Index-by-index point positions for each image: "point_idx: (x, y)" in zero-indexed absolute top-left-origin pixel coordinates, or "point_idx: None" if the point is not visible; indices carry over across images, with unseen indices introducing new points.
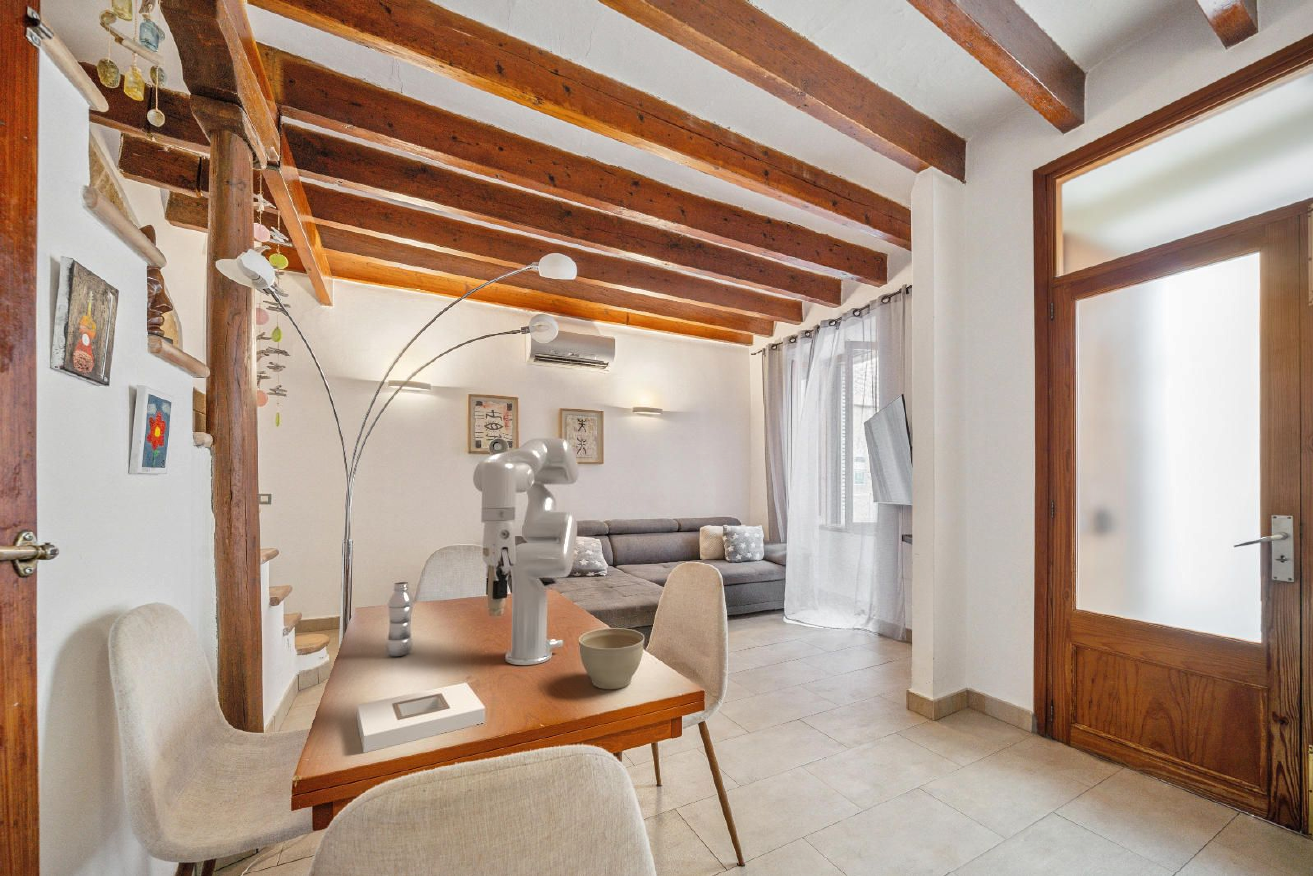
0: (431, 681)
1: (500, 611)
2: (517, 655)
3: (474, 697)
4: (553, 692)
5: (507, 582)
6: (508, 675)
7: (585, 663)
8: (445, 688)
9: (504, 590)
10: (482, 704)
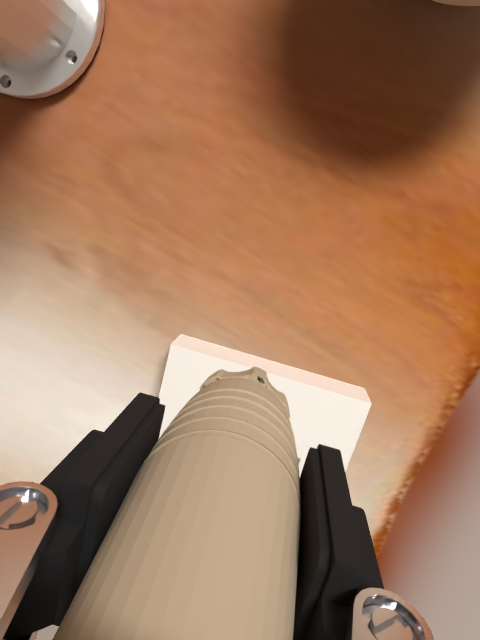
0: (22, 341)
1: (289, 417)
2: (31, 64)
3: (286, 385)
4: (350, 142)
5: (358, 542)
6: (125, 162)
7: (458, 2)
8: (170, 402)
9: (366, 531)
10: (345, 396)
